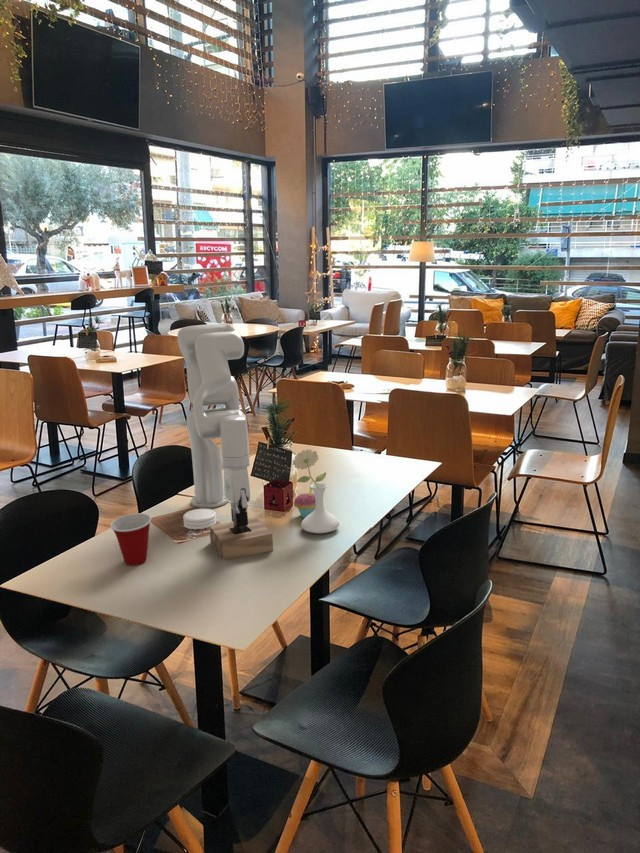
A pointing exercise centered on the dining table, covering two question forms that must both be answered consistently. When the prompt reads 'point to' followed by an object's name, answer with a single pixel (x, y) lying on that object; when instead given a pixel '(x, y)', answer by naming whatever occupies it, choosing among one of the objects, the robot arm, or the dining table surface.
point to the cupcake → (305, 503)
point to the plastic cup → (132, 537)
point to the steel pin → (236, 529)
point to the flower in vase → (319, 517)
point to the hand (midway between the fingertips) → (239, 522)
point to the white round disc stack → (199, 519)
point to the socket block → (241, 539)
